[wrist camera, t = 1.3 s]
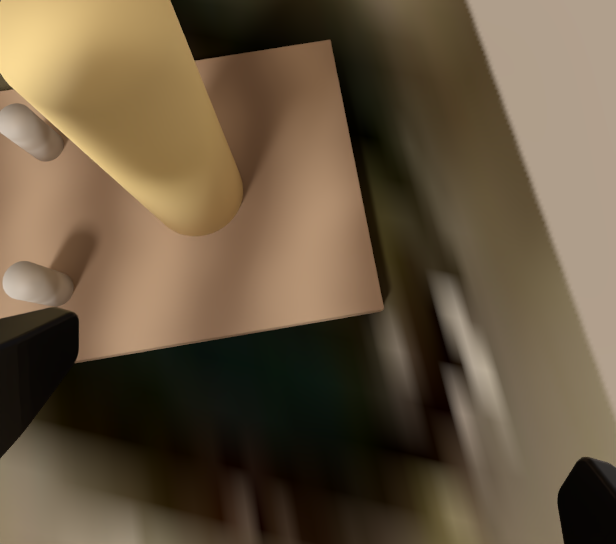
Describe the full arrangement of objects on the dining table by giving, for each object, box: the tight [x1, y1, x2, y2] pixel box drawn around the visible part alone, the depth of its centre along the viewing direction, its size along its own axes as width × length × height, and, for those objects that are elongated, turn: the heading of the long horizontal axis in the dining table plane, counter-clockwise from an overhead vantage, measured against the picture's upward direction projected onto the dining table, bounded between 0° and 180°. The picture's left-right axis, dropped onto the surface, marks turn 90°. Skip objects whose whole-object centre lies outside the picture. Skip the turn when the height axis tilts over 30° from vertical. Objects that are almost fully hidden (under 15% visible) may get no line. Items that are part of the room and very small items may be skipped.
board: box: [0, 40, 384, 363], centre depth 21 cm, size 26×14×4 cm, turn 99°
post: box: [0, 0, 243, 236], centre depth 16 cm, size 4×4×11 cm
